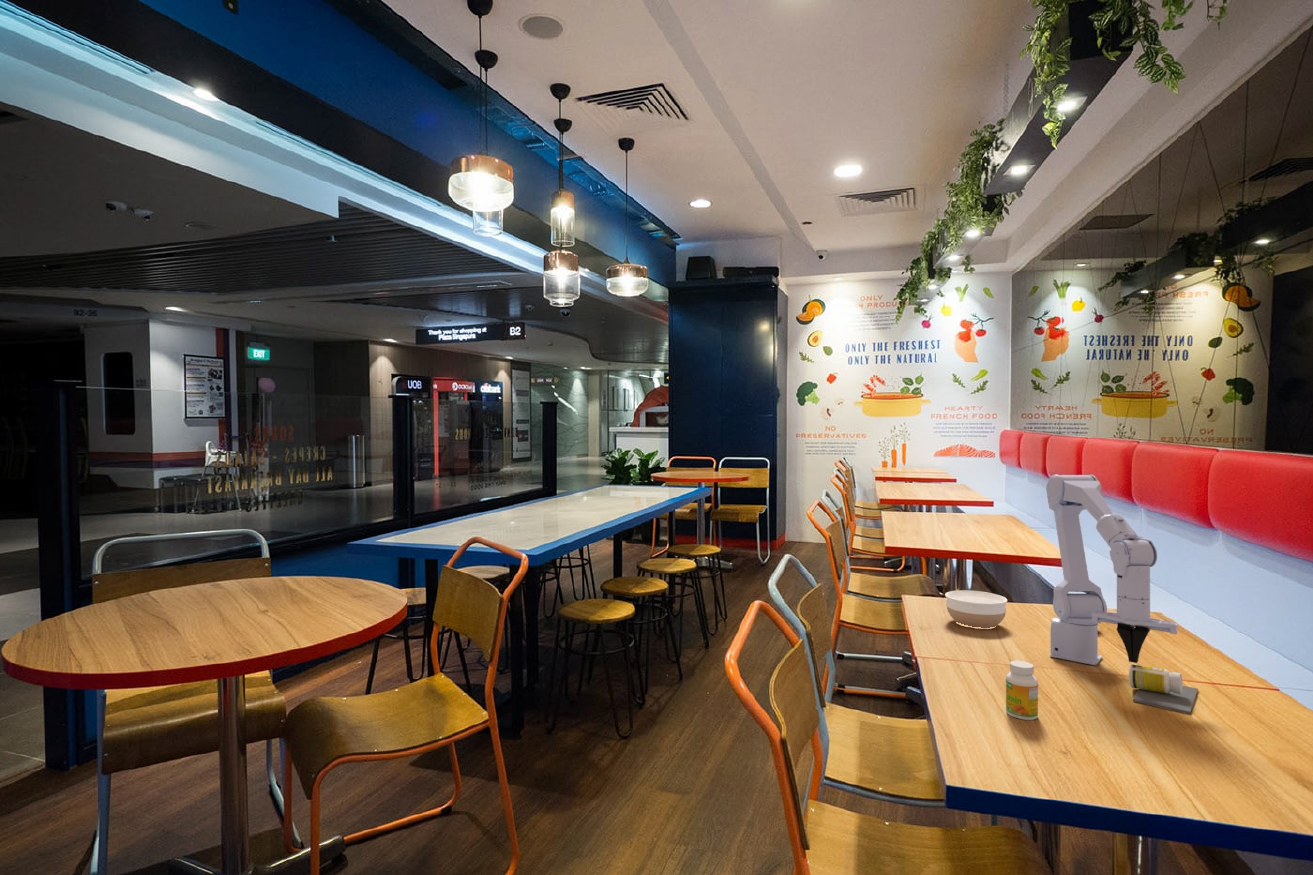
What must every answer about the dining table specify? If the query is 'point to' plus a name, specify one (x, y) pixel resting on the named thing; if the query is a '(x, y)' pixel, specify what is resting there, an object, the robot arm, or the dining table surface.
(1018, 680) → the supplement bottle
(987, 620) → the bowl
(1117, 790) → the dining table surface
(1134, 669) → the supplement bottle
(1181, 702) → the mat
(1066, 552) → the robot arm
